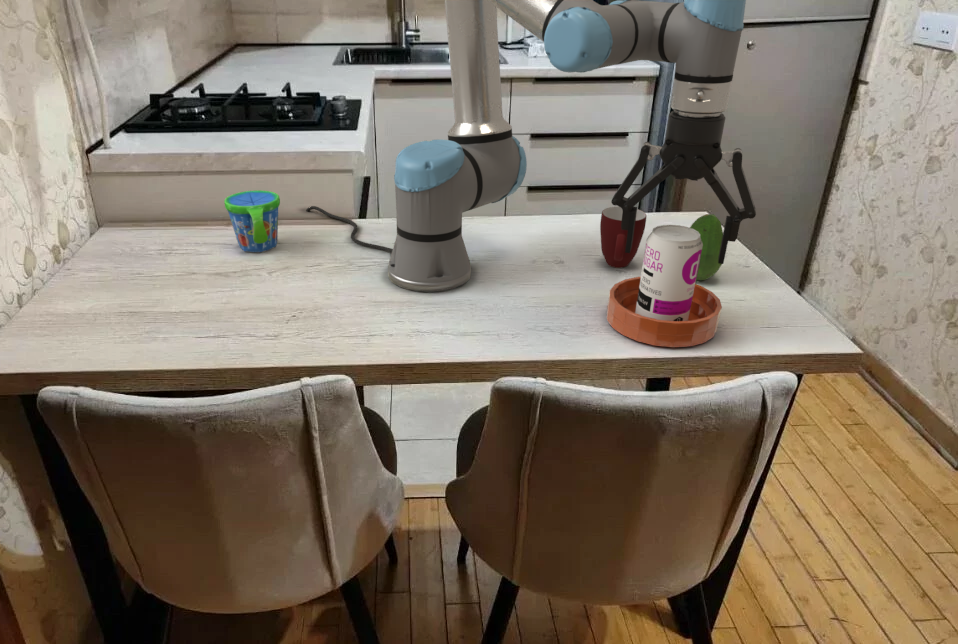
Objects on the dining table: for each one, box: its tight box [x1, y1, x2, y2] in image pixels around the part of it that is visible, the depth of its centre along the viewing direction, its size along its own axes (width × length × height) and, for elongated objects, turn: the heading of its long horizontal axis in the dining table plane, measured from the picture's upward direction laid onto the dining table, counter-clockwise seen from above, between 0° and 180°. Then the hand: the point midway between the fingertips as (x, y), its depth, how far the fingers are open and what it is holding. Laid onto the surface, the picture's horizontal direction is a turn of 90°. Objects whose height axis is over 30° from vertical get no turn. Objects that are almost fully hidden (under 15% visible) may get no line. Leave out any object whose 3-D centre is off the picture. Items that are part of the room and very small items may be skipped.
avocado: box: [689, 213, 724, 281], centre depth 129 cm, size 8×8×12 cm
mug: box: [599, 206, 648, 269], centre depth 134 cm, size 10×8×10 cm
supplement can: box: [635, 224, 703, 321], centre depth 113 cm, size 8×8×15 cm
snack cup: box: [224, 189, 281, 253], centre depth 144 cm, size 16×10×10 cm
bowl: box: [606, 276, 723, 348], centre depth 116 cm, size 17×17×4 cm
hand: (673, 255), depth 111 cm, fingers open, 13 cm apart
